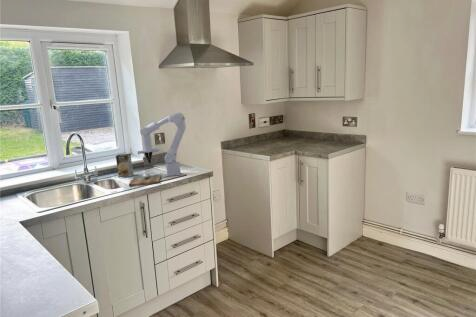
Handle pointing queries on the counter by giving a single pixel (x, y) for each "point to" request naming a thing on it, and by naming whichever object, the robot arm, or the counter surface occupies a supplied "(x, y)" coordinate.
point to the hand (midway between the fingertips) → (149, 162)
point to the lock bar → (146, 175)
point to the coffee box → (124, 165)
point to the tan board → (139, 180)
